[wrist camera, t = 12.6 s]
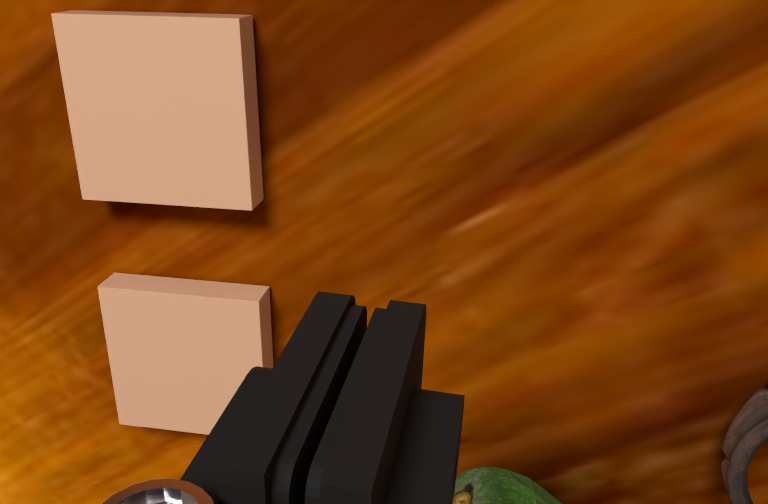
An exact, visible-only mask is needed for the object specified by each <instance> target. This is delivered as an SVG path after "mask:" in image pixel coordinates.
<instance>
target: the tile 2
mask: <svg viewBox="0 0 768 504" xmlns="http://www.w3.org/2000/svg"><path fill="white" fill-rule="evenodd" d="M98 293H99V299H100V306H101V312H102V318H103V324H104V330H105V337H106V343H107V349H108V355H109V361H110V368H111V374H112V380H113V386H114V392H115V399H116V405H117V411H118V417H119V423H120V424H124V425H132V426H140V427H149V428H157V429H165V430H173V431H182V432H190V433H198V434H207V435H209V433H210V432H211V430H212V429H213V427H214V426H215V424H216V422H217V421H218V419H219V418H220V416H221V415H222V413H223V411H224V410H225V408H226V407H227V405H228V404H229V402H230V400H231V399H232V397H233V396H234V394H235V393H236V391H237V389H238V388H239V386H240V385H241V383H242V381H243V380H244V378H245V377H246V375H247V374H248V372H249V371H250V370H251V369H252V368H253V367H256V366H258V367H266V368H273V367H274V365H273V346H272V327H271V308H270V289H269V286H259V285H248V284H237V283H225V282H214V281H203V280H192V279H180V278H169V277H158V276H147V275H135V274H124V273H113V274H112V275H111V276H110V277H109V278H107V279H106V280H105V281H104V282H102V283H101V284H100V285H99V286H98Z"/></svg>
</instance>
